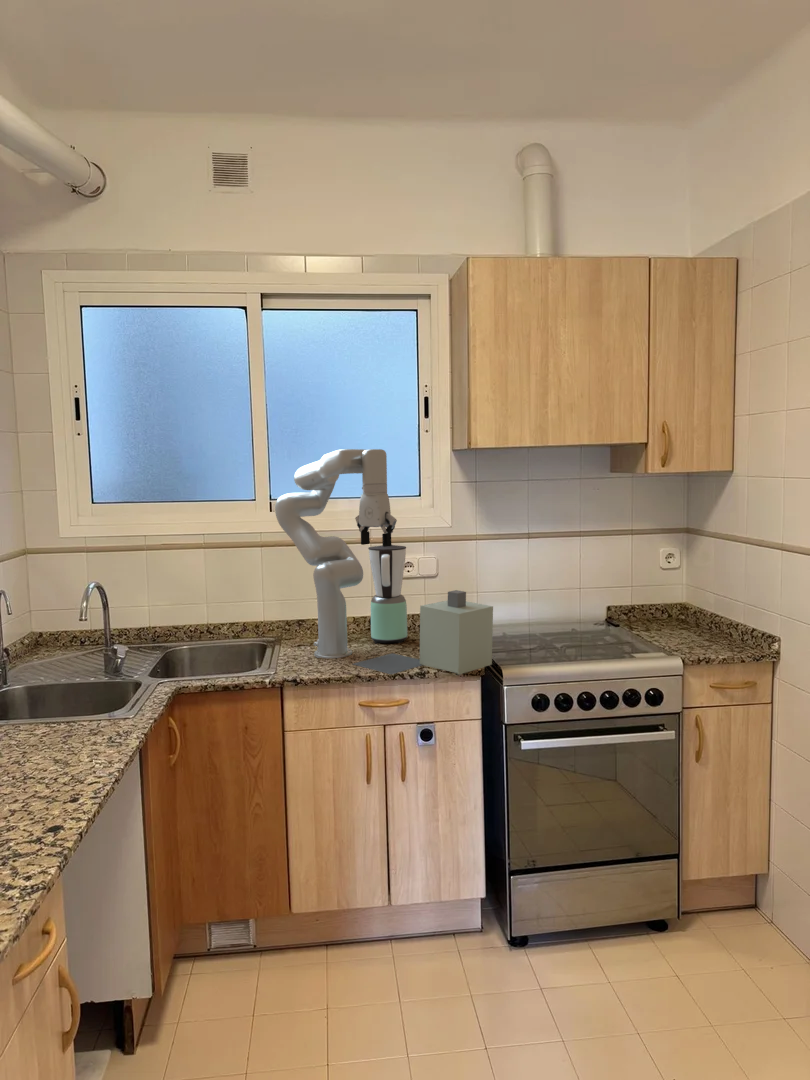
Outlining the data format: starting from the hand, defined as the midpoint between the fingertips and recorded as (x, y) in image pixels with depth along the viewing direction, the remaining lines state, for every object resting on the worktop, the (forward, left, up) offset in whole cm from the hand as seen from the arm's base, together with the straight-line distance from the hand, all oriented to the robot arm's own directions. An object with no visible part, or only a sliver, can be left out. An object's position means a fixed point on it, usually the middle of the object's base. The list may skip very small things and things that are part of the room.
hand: (376, 545), depth 227 cm
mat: (+2, +4, -38) cm, 38 cm away
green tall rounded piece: (-21, +25, -38) cm, 50 cm away
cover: (+17, +17, -38) cm, 45 cm away
